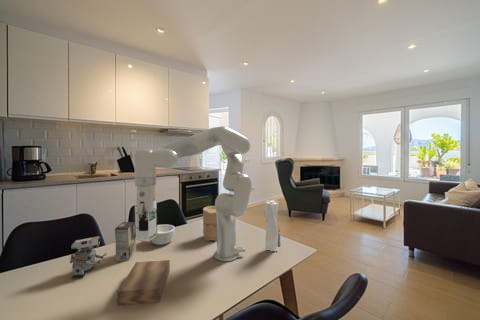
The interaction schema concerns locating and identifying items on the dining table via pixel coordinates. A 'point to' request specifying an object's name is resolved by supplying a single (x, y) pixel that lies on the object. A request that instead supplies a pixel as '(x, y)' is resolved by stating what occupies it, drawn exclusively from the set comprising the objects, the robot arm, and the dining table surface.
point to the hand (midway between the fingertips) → (146, 226)
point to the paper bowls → (164, 234)
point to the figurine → (84, 255)
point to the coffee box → (125, 241)
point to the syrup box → (151, 225)
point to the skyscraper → (272, 225)
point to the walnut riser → (144, 283)
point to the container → (210, 223)
